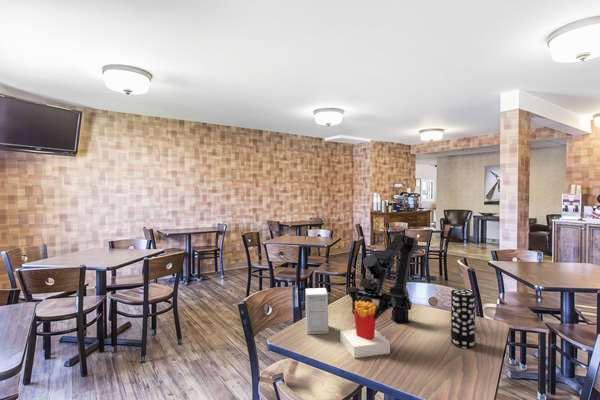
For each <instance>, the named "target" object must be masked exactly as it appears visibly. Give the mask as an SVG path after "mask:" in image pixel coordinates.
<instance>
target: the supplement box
mask: <svg viewBox="0 0 600 400" xmlns="http://www.w3.org/2000/svg"><path fill="white" fill-rule="evenodd" d="M304 295H305V331H306V334H307V335H318V334H319V335H320V334H323V335H324V334H325V335H326V334H329V301H328V300H329V298H328V297H329V295H328V291H327V288H326V287H318V288H317V287H316V288H305V294H304Z"/></svg>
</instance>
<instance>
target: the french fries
mask: <svg viewBox="0 0 600 400" xmlns="http://www.w3.org/2000/svg"><path fill="white" fill-rule="evenodd" d="M376 310H377V306H376V305H375V304H374V303H373V302H372V303H371V302H370V303H369V302H368V301H367V302H366V303H365V302H362V301H361V302H360V301H358V302H357V301H355V309H354V314H353V317H354V324H355V325H354V326H355V329H356V334H357V336H359V337H361V338H364V339H367V340H371V339H373V338H374V333H375V330H376V320H375V319H374V317H375V313H376Z"/></svg>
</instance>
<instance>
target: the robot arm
mask: <svg viewBox="0 0 600 400" xmlns="http://www.w3.org/2000/svg"><path fill="white" fill-rule="evenodd" d="M418 246H419V243H418V239H416V238H415V237H411V236H408V235H406V234H399V233H398V234H395V235H394V237H393V239H392V240H391V241H390V243H389V244H388V246H387V247H386V248H385V249H383V250H382V251H379V252H378V253H376V252H375V253H374V252H370V254H369V255H367V256H366V257H365V258H363V260H362V264H363V266H364V267H365V269H366V270H367V272H368V273H369V274H370V277H369V278H363V277H361V279H360V281H359V287H360V288H362V289H363V290H364V291H365V292H360V290H359V289H360V288H359V287H355V286H348V287H347V290H346V293H347V294H348V295H349V297H350V298H351V301H352V306H351V307H352V310H351V311H352V312H351V313H352V314H353V315H354V309H355V301H357V302H358V301H360V299H361V297H365V298H370V299H372V300H375V301H378V306H377V307H376V310H375V317H374V319H375V321H376V320H377V319H378V318H379V317H381V316H382V314H383V313H385V312H386V311H387V310H391V308H392V310H391V317H390V319H391V320H392V321H393V322H395V323H396V324H407V323H411V320H409V311H411V310H412V306H413V304H412V301H411V299H410V298H409V295H410V294H409V291H408V288H407V285H408V284H407V283H408V277H409V272H410V267H411V266H410V265H411V259H412V256H413V255H414V254H415V253H416V250H417V248H418ZM399 253H400V256H399V262H398V267H397V273H396V278H395V279H396V280H395V284H394V285H393V286H391V287H390V289H389V293H387V292H382V291H383V290H384V287H383V286H384V283H385V279H388V273H387V271H386V270H391V269H392V268H393V267H394V265H395V262H396V261H395V257H396V256H397V254H399ZM381 292H382V293H381Z"/></svg>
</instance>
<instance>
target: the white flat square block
mask: <svg viewBox="0 0 600 400" xmlns="http://www.w3.org/2000/svg"><path fill="white" fill-rule="evenodd" d="M339 332H340V335H339V336H340V342H341V344H342V345H343V346H344V347H345V348H346V350H347V351H348V352H349V353H350V355H351V356H352V357H353V358H354V359H358V358H363V357H364V358H365V357H371V356H380V355H387V354H391V342H390V341H389V340H388V339H386V338H385V337H384V336H383V335H382V334H381V333H380V332H379V331H377V330H376V329H375V333H374V338H373V339H371V340H367V339H364V338H361V337H359V336H357V334H356V328H354V329H348V330H340V331H339Z"/></svg>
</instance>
